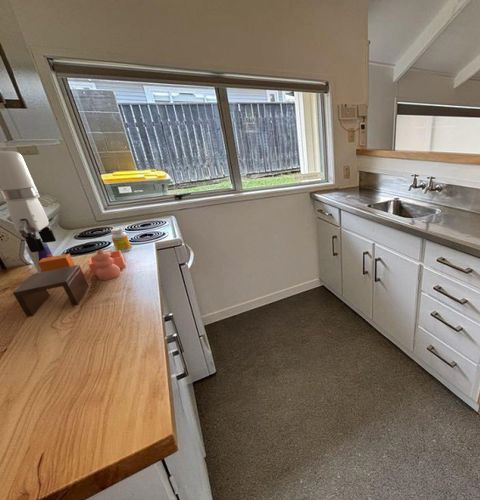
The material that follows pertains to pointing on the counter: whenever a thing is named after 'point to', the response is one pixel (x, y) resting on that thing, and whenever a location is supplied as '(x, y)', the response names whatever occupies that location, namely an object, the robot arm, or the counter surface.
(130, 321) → the counter surface
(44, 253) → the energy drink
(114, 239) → the supplement bottle
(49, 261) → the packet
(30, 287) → the shelf
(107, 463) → the counter surface
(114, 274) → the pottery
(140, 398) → the counter surface
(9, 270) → the counter surface
